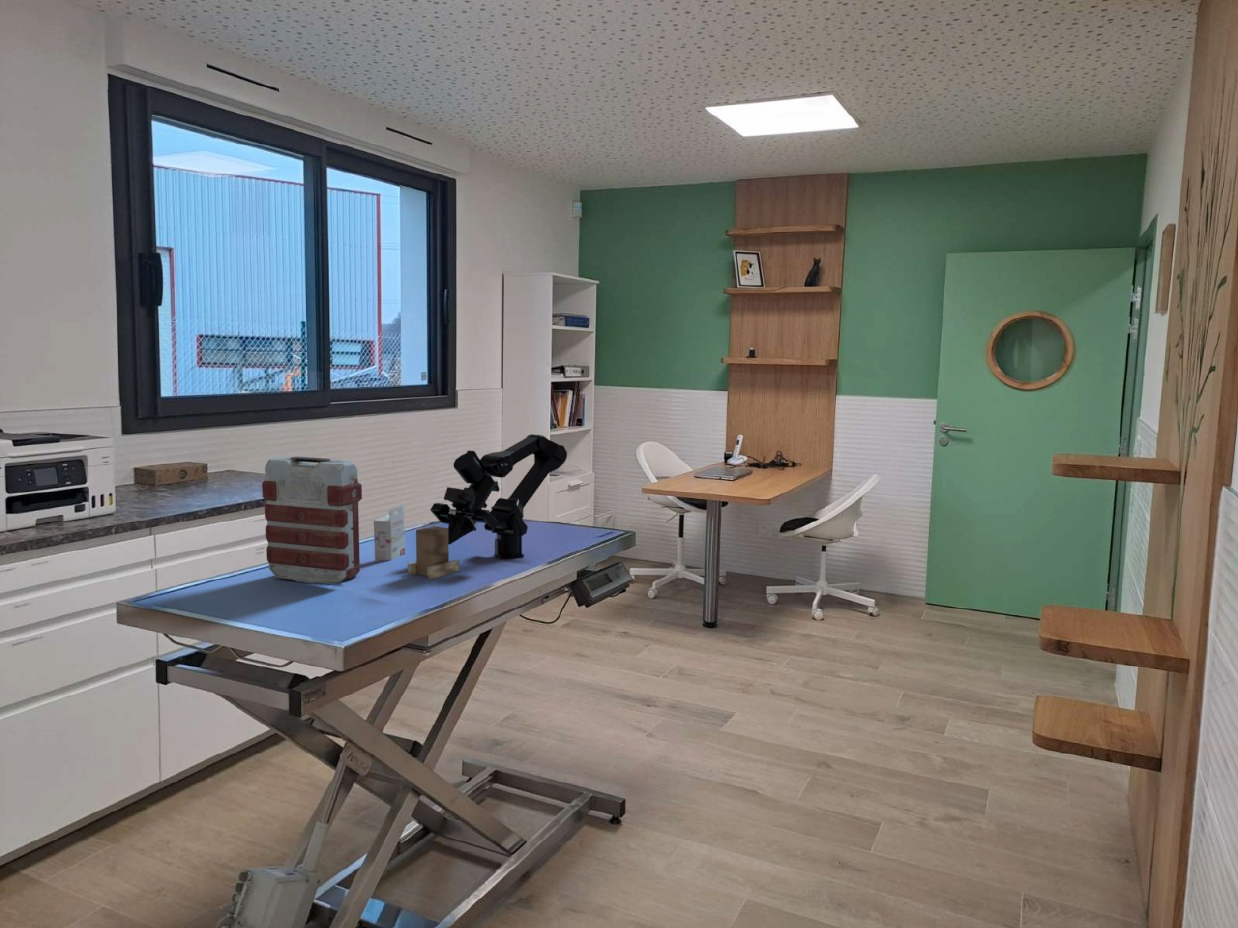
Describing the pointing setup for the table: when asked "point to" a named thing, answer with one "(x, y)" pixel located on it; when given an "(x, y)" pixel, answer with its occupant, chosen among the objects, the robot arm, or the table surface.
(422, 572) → the block
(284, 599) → the table surface
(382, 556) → the ink cartridge box
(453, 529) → the robot arm
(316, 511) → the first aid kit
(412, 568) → the chute
